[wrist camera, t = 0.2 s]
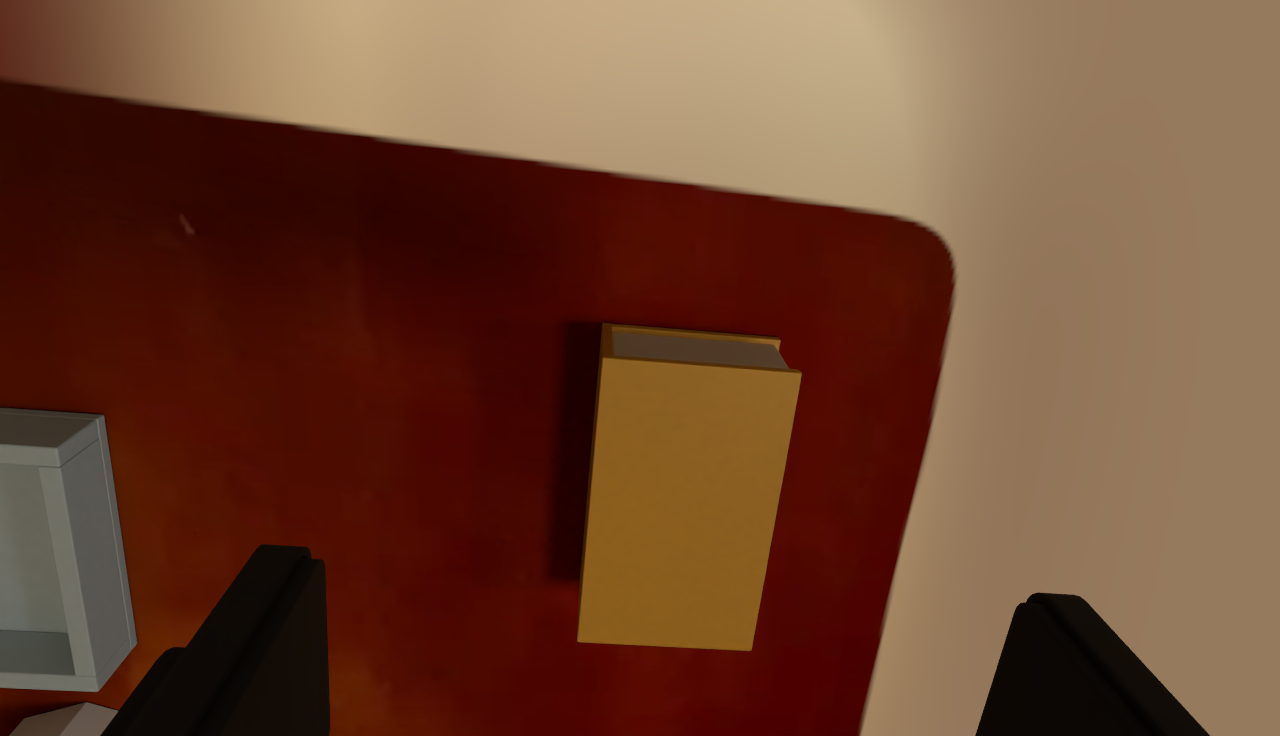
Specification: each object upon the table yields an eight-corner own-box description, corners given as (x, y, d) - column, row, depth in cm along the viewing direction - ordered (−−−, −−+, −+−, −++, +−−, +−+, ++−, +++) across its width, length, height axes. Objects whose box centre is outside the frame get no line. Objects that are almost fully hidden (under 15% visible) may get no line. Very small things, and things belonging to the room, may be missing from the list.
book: (602, 322, 31) (602, 357, 28) (778, 337, 32) (802, 373, 28) (579, 581, 35) (577, 642, 32) (735, 590, 36) (751, 651, 32)
